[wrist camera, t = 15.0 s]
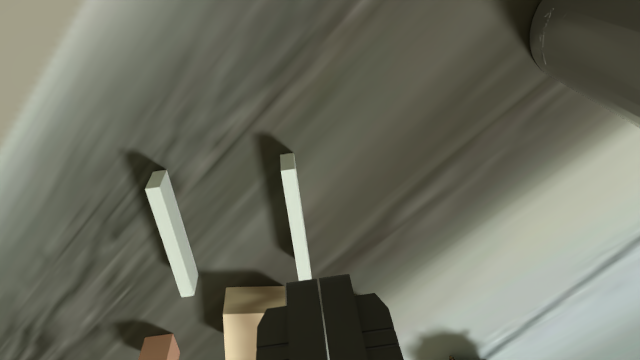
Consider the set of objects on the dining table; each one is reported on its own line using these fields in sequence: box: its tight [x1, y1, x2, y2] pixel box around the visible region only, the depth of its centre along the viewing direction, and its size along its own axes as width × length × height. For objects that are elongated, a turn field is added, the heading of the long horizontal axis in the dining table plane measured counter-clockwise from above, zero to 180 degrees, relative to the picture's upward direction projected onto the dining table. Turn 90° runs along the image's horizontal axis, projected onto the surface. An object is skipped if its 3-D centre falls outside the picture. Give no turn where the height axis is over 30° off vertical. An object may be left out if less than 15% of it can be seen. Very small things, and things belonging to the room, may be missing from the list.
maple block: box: [223, 286, 285, 360], centre depth 49 cm, size 6×7×4 cm
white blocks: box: [145, 153, 311, 297], centre depth 43 cm, size 12×12×3 cm
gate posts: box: [138, 334, 180, 360], centre depth 50 cm, size 25×3×4 cm, turn 96°
